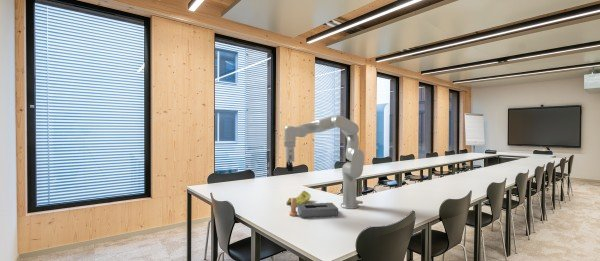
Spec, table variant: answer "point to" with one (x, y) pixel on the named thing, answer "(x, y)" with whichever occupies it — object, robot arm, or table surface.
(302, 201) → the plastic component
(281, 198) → the table surface
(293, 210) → the peg
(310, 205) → the keyhole plate
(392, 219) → the table surface
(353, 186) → the robot arm
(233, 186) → the table surface
